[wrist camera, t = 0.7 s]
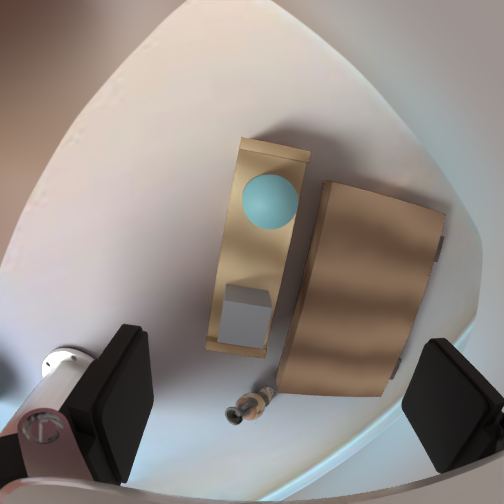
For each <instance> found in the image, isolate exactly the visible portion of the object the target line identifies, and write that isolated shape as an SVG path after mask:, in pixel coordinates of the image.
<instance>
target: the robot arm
mask: <svg viewBox="0 0 504 504" xmlns="http://www.w3.org/2000/svg"><path fill="white" fill-rule="evenodd" d="M42 373H43V379H42V380H41V381H40V383H39V384H38V385H37V386H36V387H35V389H34V390H33V391H32V392H31V394H30V395H29V396H28V397H27V399H26V400H25V401H24V403H23V404H22V405H21V406H20V408H19V409H18V410H17V412H16V413H15V414H14V416H13V417H12V418H11V419H10V421H9V422H8V423H7V425H6V426H5V428H4V429H3V430H2V432H1V433H0V504H504V413H503V412H502V411H501V410H502V408H503V407H504V398H503V397H502V396H501V394H500V393H498V391H497V390H496V389H495V388H494V387H493V386H492V385H491V384H490V383H489V382H488V381H487V380H486V379H485V377H484V376H483V375H482V374H481V373H480V372H479V371H478V370H477V369H476V368H475V367H474V366H473V365H472V364H471V363H470V362H469V361H468V360H467V359H466V358H465V357H464V356H463V355H462V354H461V353H460V352H459V351H458V350H457V349H456V348H455V347H454V346H453V345H452V344H451V343H450V342H449V341H448V340H447V339H445V338H434V339H430V340H429V341H428V343H426V344H425V345H424V348H423V350H422V353H421V356H420V359H419V361H418V364H417V366H416V369H415V372H414V374H413V377H412V379H411V381H410V384H409V386H408V389H407V391H406V393H405V395H404V398H403V400H402V410H403V412H404V413H405V415H406V417H407V418H408V420H409V422H410V424H411V425H412V427H413V429H414V431H415V432H416V434H417V436H418V438H419V440H420V441H421V443H422V445H423V447H424V449H425V450H426V452H427V454H428V456H429V458H430V460H431V462H432V463H433V465H434V467H435V469H436V471H437V472H438V473H441V474H439V475H436V476H433V477H430V478H426V479H423V480H419V481H415V482H412V483H408V484H404V485H400V486H395V487H391V488H387V489H382V490H377V491H371V492H366V493H360V494H354V495H347V496H340V497H332V498H322V499H311V500H296V501H228V500H214V499H202V498H192V497H183V496H176V495H168V494H162V493H156V492H150V491H145V490H139V489H133V488H128V487H122V486H120V485H121V483H127V481H128V478H129V475H130V472H131V469H132V466H133V463H134V460H135V456H136V453H137V450H138V447H139V444H140V441H141V438H142V435H143V432H144V430H145V427H146V424H147V421H148V418H149V415H150V412H151V409H152V406H153V401H154V395H153V386H152V377H151V368H150V357H149V345H148V334H147V332H145V331H142V328H141V326H135V325H128V324H123V325H122V326H121V327H120V329H119V330H118V332H117V333H116V334H115V336H114V337H113V339H112V340H111V341H110V343H109V344H108V346H107V347H106V348H105V350H104V351H103V353H102V354H101V356H100V357H99V358H98V359H94V358H92V357H91V356H89V355H87V354H85V353H83V352H81V351H78V350H75V349H71V348H59V349H55V350H54V351H52V352H50V354H49V355H48V356H47V357H46V358H45V360H44V362H43V366H42Z"/></svg>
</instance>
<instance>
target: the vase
mask: <svg viewBox="0 0 504 504" xmlns="http://www.w3.org/2000/svg"><path fill="white" fill-rule="evenodd" d="M266 387H267V385H266ZM264 388H265V387H264ZM274 391H275V389H273V388H271V387H267V388H265V389H262V388H261V391H259V392H257V393H248V394H245V395H243V396H241V397H240V398H239V399H238V400H237V402H236V407H229V408H227V409H226V411H225V416H226V418H227V420H228V421H229V422H230V423H231V424H233V425H238V424H240V423H241V422H242V420H243V419H246V420H254V419H257V418H258V417H260V416H261V415H262V413H263V412H264V409H265V407H266V406H267V405H268V404H269V402H270V401H271V397H272V395H273V393H274V394H275V393H276V392H274ZM255 424H256V423H255ZM267 426H268V425H267Z"/></svg>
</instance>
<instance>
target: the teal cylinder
mask: <svg viewBox="0 0 504 504" xmlns="http://www.w3.org/2000/svg"><path fill="white" fill-rule="evenodd" d="M242 202H243V209H244V212H245V214H246V216H247V218H248V219H249V220H250V221H251V222H252V223H253V224H254V225H256V226H258V227H260V228H263V229H268V230H272V229H278V228H281V227H283V226H285V225H286V224H288V223H289V222H290V221H291V220H292V218H293V217H294V215H295V213H296V211H297V207H298V197H297V193H296V190H295V189H294V187H293V186H292V184H291V183H290V182H289V181H288V180H286V179H285V178H283V177H281V176H278V175H259V176H256V177H254V178H252V179H251V180H250V181H249V182H248V183H247V184H246V186H245V187H244V190H243V194H242Z"/></svg>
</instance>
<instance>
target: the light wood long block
mask: <svg viewBox="0 0 504 504" xmlns="http://www.w3.org/2000/svg"><path fill="white" fill-rule="evenodd" d="M310 155H311V152H310V151H306V150H302V149H297V148H293V147H288V146H284V145H279V144H274V143H270V142H265V141H260V140H254V139H249V138H244V137H241V142H240V147H239V153H238V158H237V164H236V169H235V174H234V179H233V185H232V190H231V195H230V201H229V206H228V212H227V217H226V223H225V229H224V234H223V240H222V246H221V252H220V258H219V264H218V270H217V276H216V282H215V288H214V294H213V300H212V307H211V313H210V320H209V326H208V333H207V339H206V345H205V350H211V351H217V352H224V353H230V354H237V355H244V356H251V357H258V358H265V355H266V352H267V348H266V343H267V339H268V335H269V331H270V327H271V323H272V319H273V315H274V310H275V306H276V302H277V298H278V293H279V289H280V285H281V280H282V276H283V272H284V267H285V263H286V258H287V254H288V249H289V245H290V240H291V236H292V231H293V226H294V222H295V217H296V213H295V215H294V217H293V218H292V220H291V221H290V222H289V223H288V224H286V225H285V226H283V227H281V228H278V229H272V230H268V229H263V228H260V227H258V226H256V225H254V224H253V223H252V222H251V221H250V220H249V219H248V218H247V216H246V214H245V212H244V209H243V202H242V194H243V190H244V187H245V186H246V184H247V183H248V182H249V181H250V180H251V179H252V178H254V177H256V176H259V175H278V176H281V177H283V178H285V179H286V180H288V181H289V182H290V183H291V184H292V186H293V187H294V189H295V190H296V193H297V197H298V203H299V198H300V193H301V188H302V183H303V178H304V173H305V168H306V163H309V160H310ZM296 212H297V211H296ZM226 284H231V285H237V286H243V287H249V288H255V289H261V290H267V291H269V295H270V299H271V303H272V307H273V309H272V313H271V317H270V322H269V326H268V330H267V334H266V338H265V342H264V346H263V349H259V348H252V347H245V346H238V345H232V344H226V343H220V342H217V338H218V330H219V322H220V316H221V310H222V305H223V299H224V293H225V288H226Z"/></svg>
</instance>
